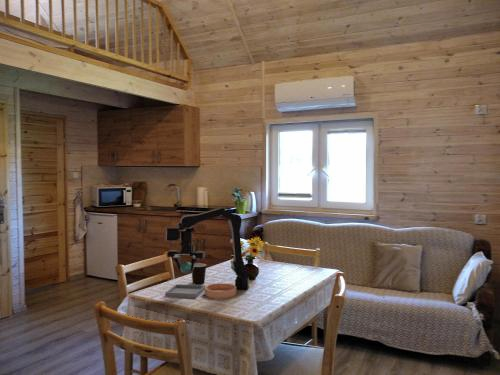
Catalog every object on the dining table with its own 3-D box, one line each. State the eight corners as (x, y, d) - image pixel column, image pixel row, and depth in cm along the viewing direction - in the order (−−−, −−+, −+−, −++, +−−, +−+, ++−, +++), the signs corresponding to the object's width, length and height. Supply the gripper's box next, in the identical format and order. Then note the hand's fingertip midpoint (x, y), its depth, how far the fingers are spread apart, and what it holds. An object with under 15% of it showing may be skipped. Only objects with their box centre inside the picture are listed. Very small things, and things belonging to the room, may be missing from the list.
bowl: (238, 290, 224) (238, 283, 224) (232, 299, 208) (232, 292, 208) (209, 289, 226) (209, 282, 226) (201, 297, 211) (201, 290, 211)
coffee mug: (203, 285, 233) (203, 267, 233) (188, 284, 235) (188, 266, 235) (209, 280, 245) (209, 262, 244) (195, 279, 247) (195, 262, 246)
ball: (193, 272, 221) (193, 260, 221) (190, 274, 215) (190, 263, 215) (182, 271, 222) (182, 260, 222) (178, 274, 216) (178, 262, 216)
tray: (205, 289, 226) (205, 285, 226) (196, 298, 210) (196, 294, 210) (176, 287, 229) (176, 284, 229) (165, 296, 213) (165, 292, 213)
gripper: (208, 238, 225) (208, 268, 225) (174, 237, 228) (174, 266, 228) (202, 242, 214) (202, 273, 214) (166, 240, 217) (166, 271, 217)
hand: (186, 270), depth 219 cm, fingers closed on ball, 6 cm apart
